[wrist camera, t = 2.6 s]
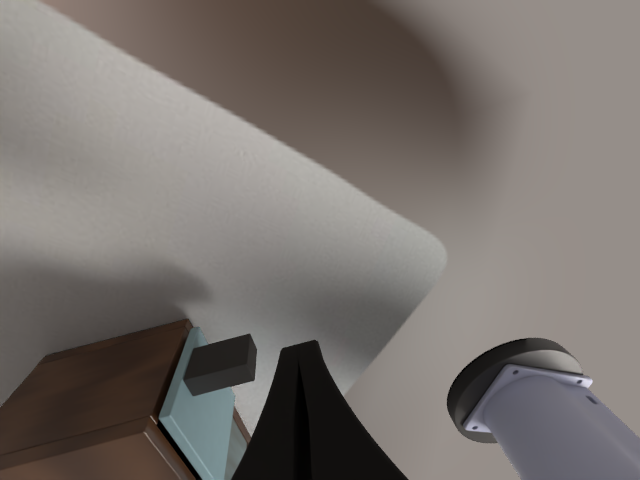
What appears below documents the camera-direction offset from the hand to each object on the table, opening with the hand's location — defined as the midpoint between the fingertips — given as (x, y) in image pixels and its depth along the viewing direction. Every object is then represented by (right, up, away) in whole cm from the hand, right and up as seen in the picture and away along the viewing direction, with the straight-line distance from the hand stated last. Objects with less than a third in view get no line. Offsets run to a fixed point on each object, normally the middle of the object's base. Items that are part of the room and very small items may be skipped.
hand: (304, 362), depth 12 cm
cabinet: (-12, -8, +13) cm, 19 cm away
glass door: (-5, -4, +11) cm, 12 cm away
